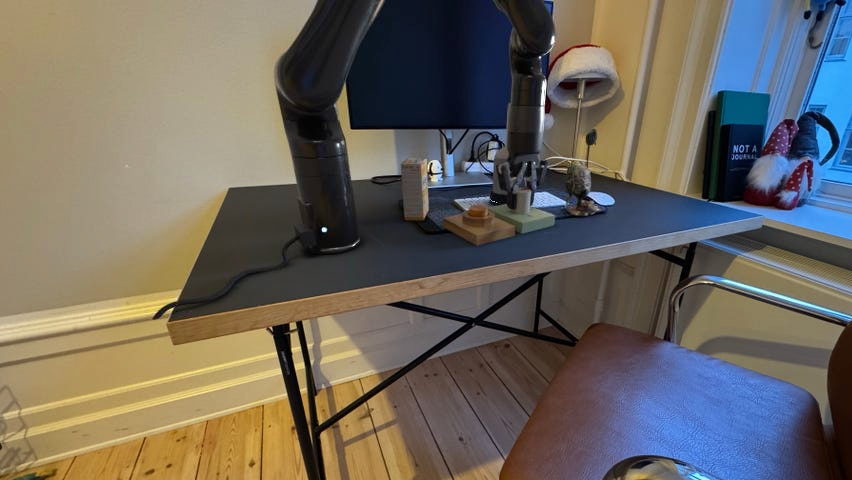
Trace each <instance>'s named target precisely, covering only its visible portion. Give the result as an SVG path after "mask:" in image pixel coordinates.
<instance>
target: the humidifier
mask: <svg viewBox="0 0 852 480" xmlns="http://www.w3.org/2000/svg"><path fill="white" fill-rule="evenodd" d="M510 105H511V104H510V102H508V106H507V113H506V114H507V115H506V118H507V119H506V128H505V129H506V130H505V144H504V146H503V147H501V148H500V149H498V150H497V151H496V152H495V154H494V156H493V169H492V170H493V171H492V190H491V191H490V193H489V204H490V205H491V206H493V207H494V206H499V205H504V204H507V192H506V191H503V190H500V186H499V181H498V176H497V171H496V165H497V164H503V163H505V162H507V159H508V156H509V153H508V151H507V136H508V117H509V111H510ZM509 171H510V169H509ZM508 174H509V173H508ZM516 178H517V177H514V179H516ZM513 184H514V182H513ZM512 187H513V185H512ZM490 199H491V200H492V201H495V202H492V201H491V200H490ZM496 202H497V203H496Z"/></svg>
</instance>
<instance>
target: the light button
mask: <svg viewBox="0 0 852 480" xmlns="http://www.w3.org/2000/svg"><path fill="white" fill-rule="evenodd" d="M488 208H489V207H488V206H487V205H482V204H475V205H474V204H473V205H470V206H469V207H468V210H469V216H472V217H485V216H488Z"/></svg>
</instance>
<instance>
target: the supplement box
mask: <svg viewBox="0 0 852 480" xmlns="http://www.w3.org/2000/svg"><path fill="white" fill-rule="evenodd" d="M400 174H401V175H400V176H401V187H402V188H401V189H402V200H403V201H402V203H403V215H404V216H403V217H404V221H425V218H426V216H427V214H428V212H429V209H430V208H429V207H430V206H429V185H428V183H429V182H428V180H429V179H428V158H425V157H408V158H406V159H405V160H404V161H402V162H401V163H400Z"/></svg>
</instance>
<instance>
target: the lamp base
mask: <svg viewBox="0 0 852 480" xmlns="http://www.w3.org/2000/svg"><path fill="white" fill-rule="evenodd" d="M442 228H444V229H447V230H448V231H450V232H451V233H453V234H455V235H457V236H459V237H460V238H462V239H464V240H465V241H467V242H469V243H471V244H472V245H475V246H480V245H484V244H488V243H492V242H496V241H499V240H504V239H507V238H511V237H515V236H516V231H515V226H514V225H512V224H509V223H507V222H505V221H502V220H500V219H498V218H495V214H494V212H492V211H489V210H488V216H485V217H472V216H469V209H467V210H464V211H462V212H461V213H460V214H459V213H458V214H455V215H450V216H444V217H442Z"/></svg>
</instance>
